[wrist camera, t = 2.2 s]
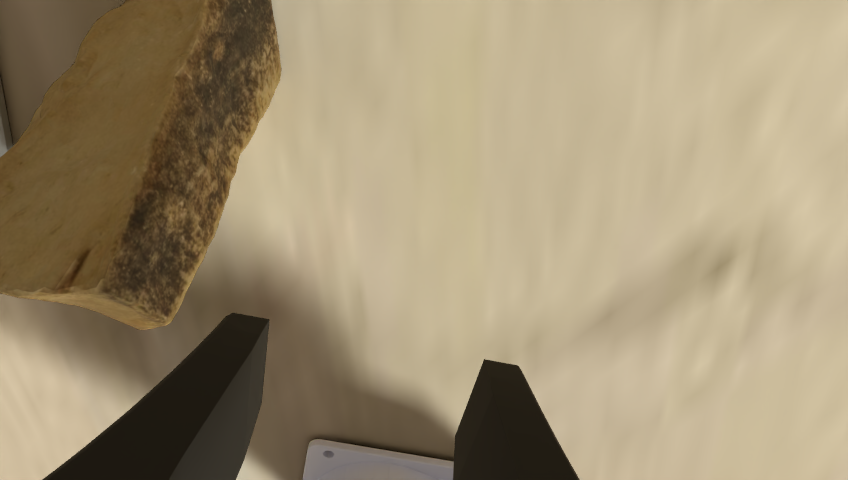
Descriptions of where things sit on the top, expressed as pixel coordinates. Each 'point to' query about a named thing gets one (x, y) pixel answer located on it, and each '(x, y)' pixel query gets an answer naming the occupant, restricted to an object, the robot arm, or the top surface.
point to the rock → (136, 156)
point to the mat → (4, 126)
